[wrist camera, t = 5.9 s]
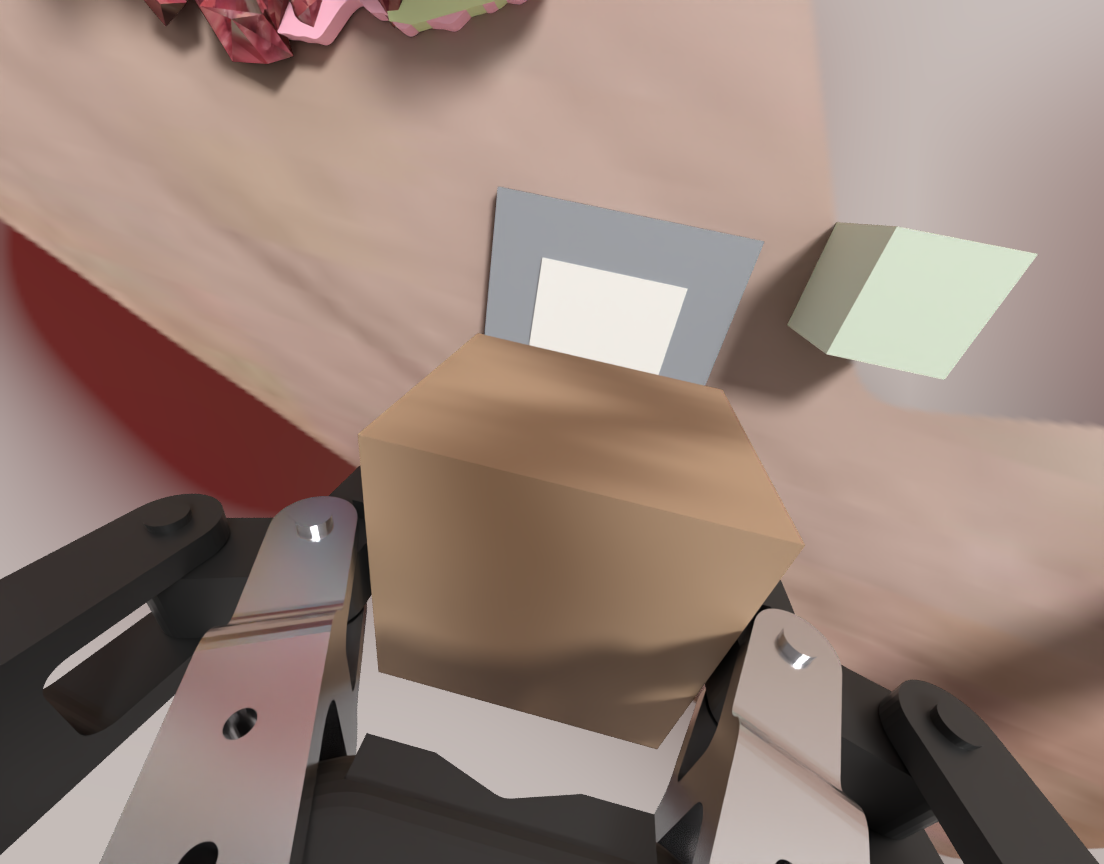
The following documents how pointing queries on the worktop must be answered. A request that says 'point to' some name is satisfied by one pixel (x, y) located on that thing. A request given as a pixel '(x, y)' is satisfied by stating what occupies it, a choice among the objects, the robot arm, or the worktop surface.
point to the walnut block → (566, 536)
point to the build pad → (614, 285)
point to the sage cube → (903, 296)
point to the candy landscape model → (316, 20)
